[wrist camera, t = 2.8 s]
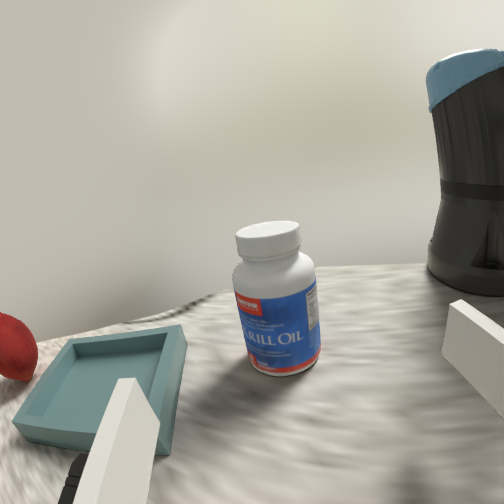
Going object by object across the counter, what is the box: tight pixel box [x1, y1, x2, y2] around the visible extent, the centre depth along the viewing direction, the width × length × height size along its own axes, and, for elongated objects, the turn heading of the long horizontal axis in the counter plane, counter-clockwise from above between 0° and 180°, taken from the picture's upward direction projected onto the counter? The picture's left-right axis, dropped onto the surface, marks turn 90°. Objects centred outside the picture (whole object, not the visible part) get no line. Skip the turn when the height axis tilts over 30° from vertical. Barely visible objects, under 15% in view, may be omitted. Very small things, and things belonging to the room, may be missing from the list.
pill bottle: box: [232, 221, 321, 376], centre depth 20 cm, size 6×5×10 cm
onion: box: [0, 312, 38, 382], centre depth 19 cm, size 6×6×8 cm
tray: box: [12, 325, 187, 455], centre depth 18 cm, size 12×12×2 cm
